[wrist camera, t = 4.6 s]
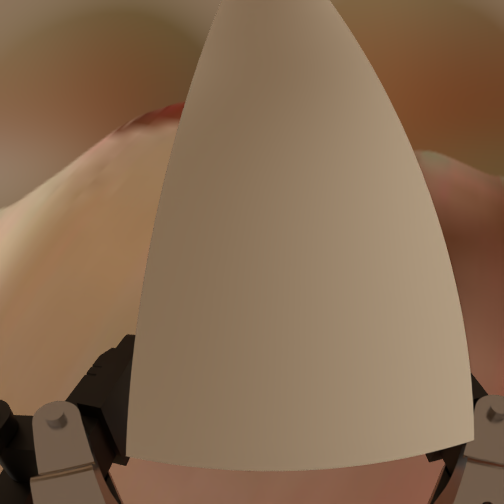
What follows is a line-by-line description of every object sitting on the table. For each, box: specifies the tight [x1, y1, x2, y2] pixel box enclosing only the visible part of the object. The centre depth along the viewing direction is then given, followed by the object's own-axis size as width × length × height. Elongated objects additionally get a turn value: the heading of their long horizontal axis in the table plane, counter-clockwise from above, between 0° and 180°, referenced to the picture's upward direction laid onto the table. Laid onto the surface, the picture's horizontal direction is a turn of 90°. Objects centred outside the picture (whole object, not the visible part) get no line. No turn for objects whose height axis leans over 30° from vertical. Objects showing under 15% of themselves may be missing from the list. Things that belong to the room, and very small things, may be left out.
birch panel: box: [126, 0, 474, 471], centre depth 13 cm, size 2×12×20 cm, turn 179°
